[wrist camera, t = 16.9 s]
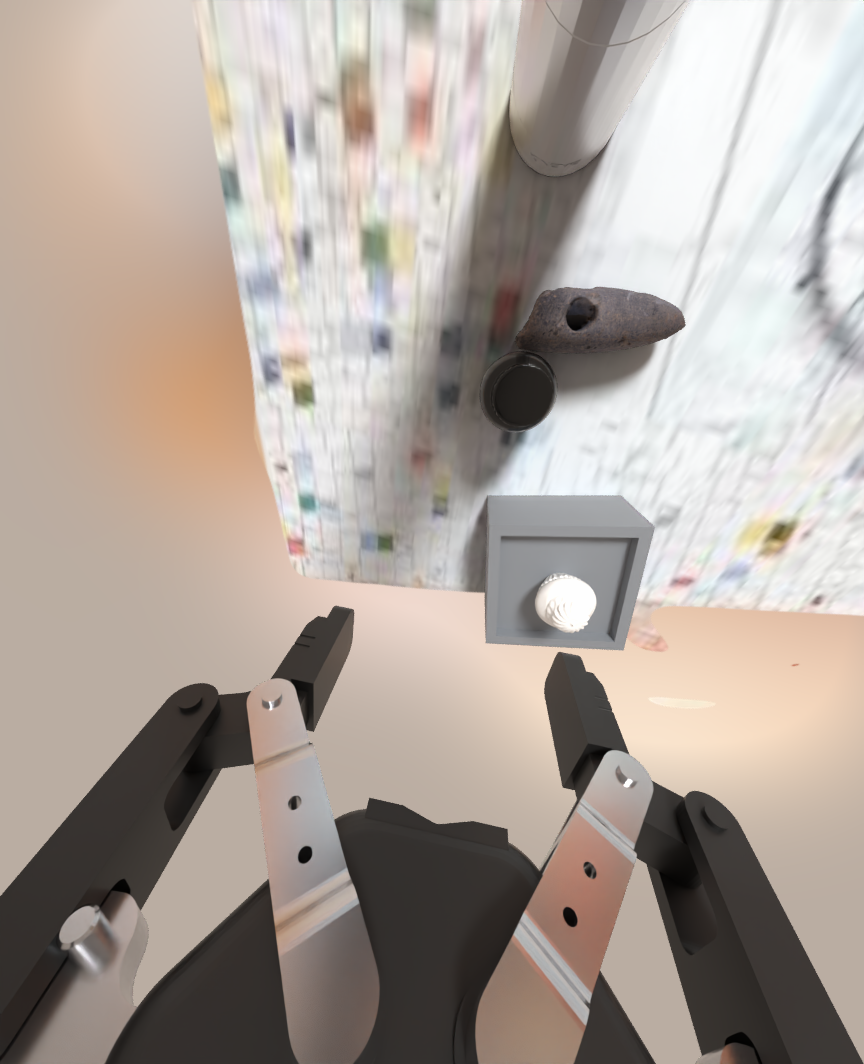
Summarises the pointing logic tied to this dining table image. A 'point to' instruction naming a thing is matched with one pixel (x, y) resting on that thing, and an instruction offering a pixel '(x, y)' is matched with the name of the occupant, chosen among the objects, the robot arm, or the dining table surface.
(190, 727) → the robot arm
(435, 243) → the dining table surface
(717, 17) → the dining table surface
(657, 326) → the perforated stone tool
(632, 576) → the grey square open box
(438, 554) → the dining table surface
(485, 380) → the supplement bottle
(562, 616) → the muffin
